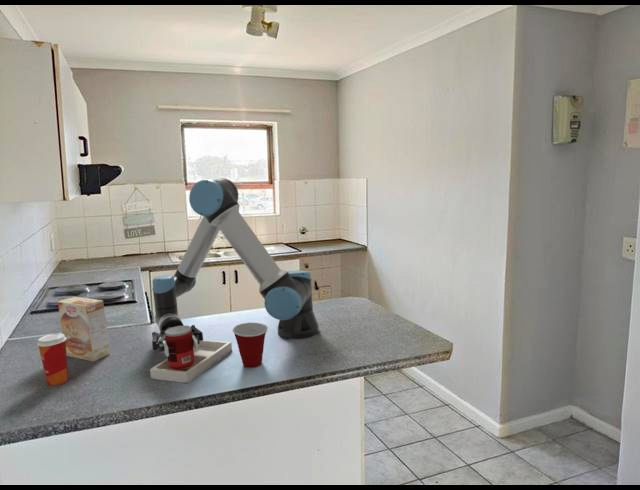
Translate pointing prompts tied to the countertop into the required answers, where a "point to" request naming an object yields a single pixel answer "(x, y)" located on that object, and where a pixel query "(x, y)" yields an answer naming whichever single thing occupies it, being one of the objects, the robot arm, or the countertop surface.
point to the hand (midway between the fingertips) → (182, 348)
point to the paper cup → (54, 358)
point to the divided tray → (203, 360)
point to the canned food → (180, 347)
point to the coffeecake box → (84, 328)
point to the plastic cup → (250, 342)
